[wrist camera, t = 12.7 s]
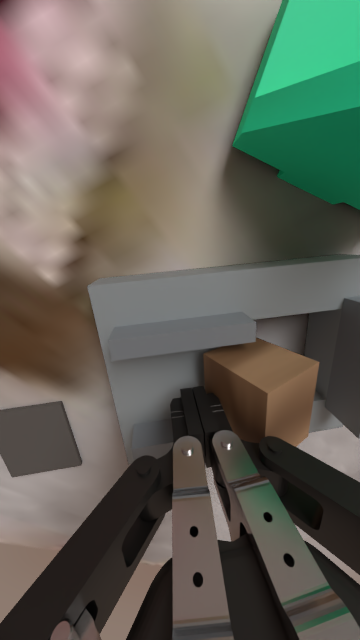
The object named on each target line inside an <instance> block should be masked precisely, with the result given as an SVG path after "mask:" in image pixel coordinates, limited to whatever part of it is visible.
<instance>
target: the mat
mask: <svg viewBox="0 0 360 640" xmlns="http://www.w3.org/2000/svg"><path fill="white" fill-rule="evenodd" d="M0 454H1V456H2V458H3V460H4V462H5V464H6V466H7V468H8V470H9V472H10V474H11V476H12V477H17V476H22V475H28V474H34V473H40V472H45V471H51V470H57V469H63V468H69V467H74V466H80V465H81V464H82V460H81V457H80V454H79V451H78V448H77V445H76V442H75V439H74V436H73V433H72V430H71V427H70V424H69V421H68V418H67V415H66V412H65V409H64V406H63V403H62V401H59V402H52V403H46V404H39V405H32V406H25V407H18V408H11V409H5V410H0Z"/></svg>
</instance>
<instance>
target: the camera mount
mask: <svg viewBox="0 0 360 640" xmlns="http://www.w3.org/2000/svg"><path fill="white" fill-rule="evenodd" d="M232 146H233V147H235V148H237V149H239V150H241V151H243V152H245V153H247V154H249V155H251V156H253V157H255V158H257V159H259V160H261V161H263V162H265V163H267V164H269V165H271V166H273V167H275V168H277V169H279V173H278V175H277V177H278V178H280V179H282V180H284V181H286V182H288V183H290V184H292V185H294V186H296V187H298V188H300V189H302V190H304V191H306V192H308V193H310V194H312V195H314V196H316V197H319V198H321V199H323V200H325V201H327V202H329V203H331V204H337V203H342V202H345V203H347V204H349V205H351V206H353V207H355V208H357V209H359V210H360V0H282V3H281V6H280V9H279V12H278V15H277V18H276V21H275V23H274V26H273V29H272V32H271V35H270V38H269V41H268V44H267V47H266V49H265V52H264V55H263V58H262V61H261V64H260V67H259V70H258V73H257V75H256V78H255V81H254V84H253V87H252V90H251V93H250V96H249V99H248V101H247V104H246V107H245V110H244V113H243V116H242V119H241V122H240V125H239V127H238V130H237V133H236V136H235V139H234V142H233V145H232Z"/></svg>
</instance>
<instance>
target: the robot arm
mask: <svg viewBox="0 0 360 640" xmlns="http://www.w3.org/2000/svg"><path fill="white" fill-rule="evenodd" d="M170 410H171V420H172V430H173V446H172V448H171V449H170V451H169V452H168V453H167V454H165V455H164V456H162V457H160V458H158V459H156V458H154V457H153V456H149V455H145V456H141V457H139V458H137V459H136V460H135V461H134V462H133V463H132V464H131V465H130V466H129V468H128V469H127V470H126V471H125V472H124V474H123V475H122V476H121V477H120V478H119V480H118V481H117V482H116V483H115V485H114V486H113V487H112V488H111V489H110V491H109V492H108V493H107V494H106V496H105V497H104V498H103V499H102V500H101V502H100V503H99V504H98V505H97V506H96V508H95V509H94V510H93V511H92V513H91V514H90V515H89V516H88V517H87V519H86V520H85V521H84V522H83V523H82V525H81V526H80V527H79V528H78V530H77V531H76V532H75V533H74V534H73V536H72V537H71V538H70V539H69V541H68V542H67V543H66V544H65V545H64V547H63V548H62V549H61V550H60V551H59V553H58V554H57V555H56V556H55V558H54V559H53V560H52V561H51V563H50V564H49V565H48V566H47V567H46V569H45V570H44V571H43V572H42V574H41V575H40V576H39V577H38V578H37V579H36V581H35V582H34V583H33V584H32V586H31V587H30V588H29V589H28V590H27V592H26V593H25V594H24V595H23V597H22V598H21V599H20V600H19V601H18V603H17V604H16V605H15V606H14V608H13V609H12V610H11V611H10V612H9V614H8V615H7V616H6V617H5V618H4V620H3V621H2V622H1V623H0V640H101V637H100V633H101V631H102V629H103V627H104V625H105V624H106V622H107V620H108V618H109V616H110V615H111V613H112V611H113V609H114V607H115V605H116V603H117V602H118V600H119V598H120V596H121V595H122V593H123V591H124V589H125V587H126V585H127V584H128V582H129V580H130V578H131V576H132V575H133V573H134V571H135V569H136V567H137V566H138V564H139V562H140V560H141V558H142V556H143V555H144V553H145V551H146V549H147V547H148V546H149V544H150V542H151V540H152V538H153V537H154V535H155V533H156V531H157V529H158V527H159V526H160V524H161V522H162V520H163V518H164V516H165V513H167V512H168V511H170V510H171V509H172V558H171V559H170V560H168V561H167V562H166V563H165V564H164V566H163V567H162V568H161V569H160V571H159V572H158V574H157V575H156V577H155V578H154V580H153V582H152V583H151V586H150V588H149V590H148V592H147V594H146V596H145V599H144V601H143V603H142V605H141V607H140V610H139V612H138V614H137V617H136V618H135V621H134V623H133V625H132V628H131V630H130V632H129V634H128V636H127V638H126V640H360V585H359V584H358V583H357V582H356V581H355V580H353V579H352V578H351V577H350V576H349V575H347V574H346V573H345V572H344V571H343V570H341V569H340V568H339V567H338V566H337V565H336V564H334V563H333V562H332V561H330V559H328V558H327V557H326V556H325V555H324V554H322V553H321V552H320V551H319V550H318V549H316V548H315V547H314V546H312V545H311V544H309V543H308V542H306V541H304V540H303V539H302V537H301V535H300V533H299V532H298V530H297V528H296V526H295V525H297V526H298V527H299V528H300V529H302V530H303V531H304V532H306V533H307V534H308V535H309V536H311V537H312V538H313V539H314V540H316V541H317V542H318V543H320V544H321V545H322V546H323V547H325V548H326V549H327V550H329V551H330V552H331V553H332V554H334V555H335V556H336V557H337V558H339V559H340V560H341V561H343V562H344V563H345V564H346V565H348V566H349V567H350V568H351V569H353V570H354V571H355V572H356V573H358V574H359V575H360V482H358V481H356V480H354V479H353V478H351V477H349V476H347V475H345V474H344V473H342V472H340V471H338V470H336V469H335V468H333V467H331V466H329V465H327V464H326V463H324V462H322V461H320V460H318V459H316V458H315V457H313V456H311V455H309V454H307V453H306V452H304V451H302V450H300V449H298V448H297V447H295V446H293V445H291V444H289V443H287V442H286V441H284V440H282V439H280V438H278V437H274V436H266V437H264V438H262V439H261V441H260V443H254V442H248V441H244V440H242V439H240V438H239V437H238V435H236V434H235V433H234V432H233V430H232V428H231V426H230V424H229V421H228V419H227V417H226V414H225V412H224V410H223V407H222V406H221V403H220V400H219V398H218V397H217V396H216V395H215V394H214V393H208V394H206V391H205V389H204V386H197V387H192V388H191V387H190V388H183V389H180V398H173V399H172V401H171V404H170ZM205 463H206V467H207V468H208V467H212V471H213V476H214V485H215V488H216V491H217V494H218V497H219V500H220V503H221V506H222V509H223V512H224V515H225V518H226V521H227V524H228V528H229V532H230V537H231V542H229V541H222V540H217V535H216V528H215V522H214V516H213V509H212V503H211V497H210V491H209V489H208V485H207V478H206V472H205ZM294 524H295V525H294Z"/></svg>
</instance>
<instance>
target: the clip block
mask: <svg viewBox="0 0 360 640" xmlns="http://www.w3.org/2000/svg"><path fill="white" fill-rule="evenodd" d="M203 360H204V379H205V391H206V394H208V393H214V394H215V395H216V396H217V397H218V398H219V400H220V403H221V406H222V407H223V410H224V412H225V414H226V417H227V419H228V421H229V424H230V426H231V428H232V430H233V432H234V433H235V434H236V435H238V437H239V438H240V439H242V440H244V441H248V442H254V443H260V441H261V439H262V438H264V437H266V436H274V437H278V438H280V439H282V440H284V441H286V442H287V443H289V444H291V445H293V446H295V447H296V446H297V445H299V444H300V443H301V442H302V441H303V440H304V439H305V438H307V437H308V433H309V426H310V420H311V414H312V407H313V401H314V394H315V388H316V381H317V375H318V368H319V362H318V361H315V360H313V359H310V358H308V357H305V356H302V355H300V354H297V353H295V352H292V351H289V350H287V349H284V348H282V347H279V346H277V345H274V344H271V343H269V342H266V341H264V340H261V339H258V338H256V342H251V343H244V344H236V345H229V346H222V347H219V348H216V349H214V350H211V351H209V352H206V353H204V354H203Z"/></svg>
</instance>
